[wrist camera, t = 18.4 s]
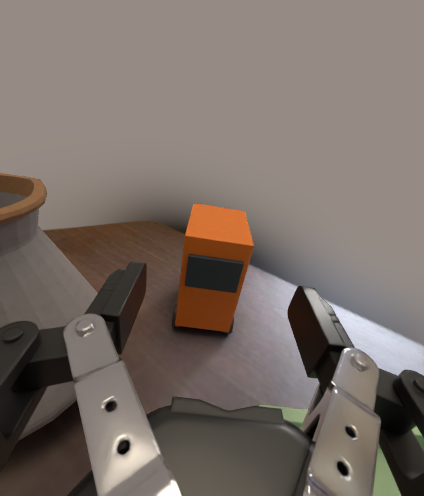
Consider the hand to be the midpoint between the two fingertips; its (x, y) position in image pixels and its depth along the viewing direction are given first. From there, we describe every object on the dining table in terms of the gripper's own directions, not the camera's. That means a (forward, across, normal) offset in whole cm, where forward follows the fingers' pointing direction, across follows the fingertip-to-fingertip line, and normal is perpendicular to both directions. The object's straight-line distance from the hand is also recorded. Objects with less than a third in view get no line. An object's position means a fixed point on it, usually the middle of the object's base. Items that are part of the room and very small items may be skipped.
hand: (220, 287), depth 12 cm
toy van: (+8, 0, +10) cm, 12 cm away
